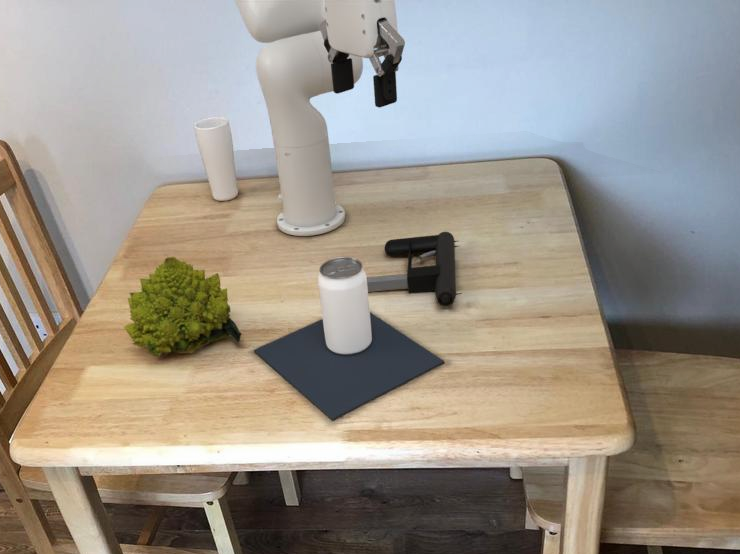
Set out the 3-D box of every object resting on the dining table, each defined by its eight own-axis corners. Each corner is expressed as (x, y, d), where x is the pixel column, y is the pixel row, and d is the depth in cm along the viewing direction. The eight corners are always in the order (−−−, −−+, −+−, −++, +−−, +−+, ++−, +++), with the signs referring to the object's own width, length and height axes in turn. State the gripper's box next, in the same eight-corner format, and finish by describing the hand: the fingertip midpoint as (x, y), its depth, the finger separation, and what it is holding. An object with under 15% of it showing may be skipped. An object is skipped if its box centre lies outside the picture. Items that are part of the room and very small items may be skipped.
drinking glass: (240, 201, 151) (226, 126, 142) (207, 205, 151) (191, 130, 142) (243, 188, 156) (230, 115, 147) (211, 191, 157) (196, 118, 148)
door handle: (352, 298, 112) (463, 289, 108) (362, 236, 127) (460, 226, 124) (355, 318, 113) (464, 309, 110) (365, 254, 129) (461, 245, 126)
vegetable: (268, 316, 107) (190, 248, 100) (196, 400, 108) (112, 338, 100) (236, 290, 120) (165, 228, 112) (172, 365, 120) (96, 308, 112)
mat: (254, 352, 108) (253, 349, 108) (357, 305, 115) (356, 303, 114) (332, 421, 94) (332, 418, 93) (444, 363, 101) (444, 360, 100)
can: (324, 333, 109) (314, 259, 102) (368, 327, 109) (362, 252, 101) (328, 359, 104) (318, 282, 96) (375, 352, 104) (368, 275, 96)
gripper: (422, -47, 88) (426, 102, 98) (339, -54, 100) (350, 79, 111) (370, -35, 85) (380, 118, 96) (291, -44, 98) (307, 93, 108)
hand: (364, 97), depth 103 cm, fingers open, 9 cm apart
